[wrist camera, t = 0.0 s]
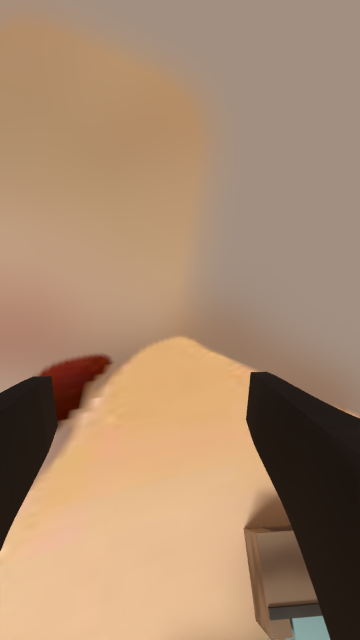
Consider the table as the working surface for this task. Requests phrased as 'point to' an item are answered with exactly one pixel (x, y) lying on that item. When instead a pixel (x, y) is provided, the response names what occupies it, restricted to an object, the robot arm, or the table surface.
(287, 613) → the sleeve block
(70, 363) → the table surface
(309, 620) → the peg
